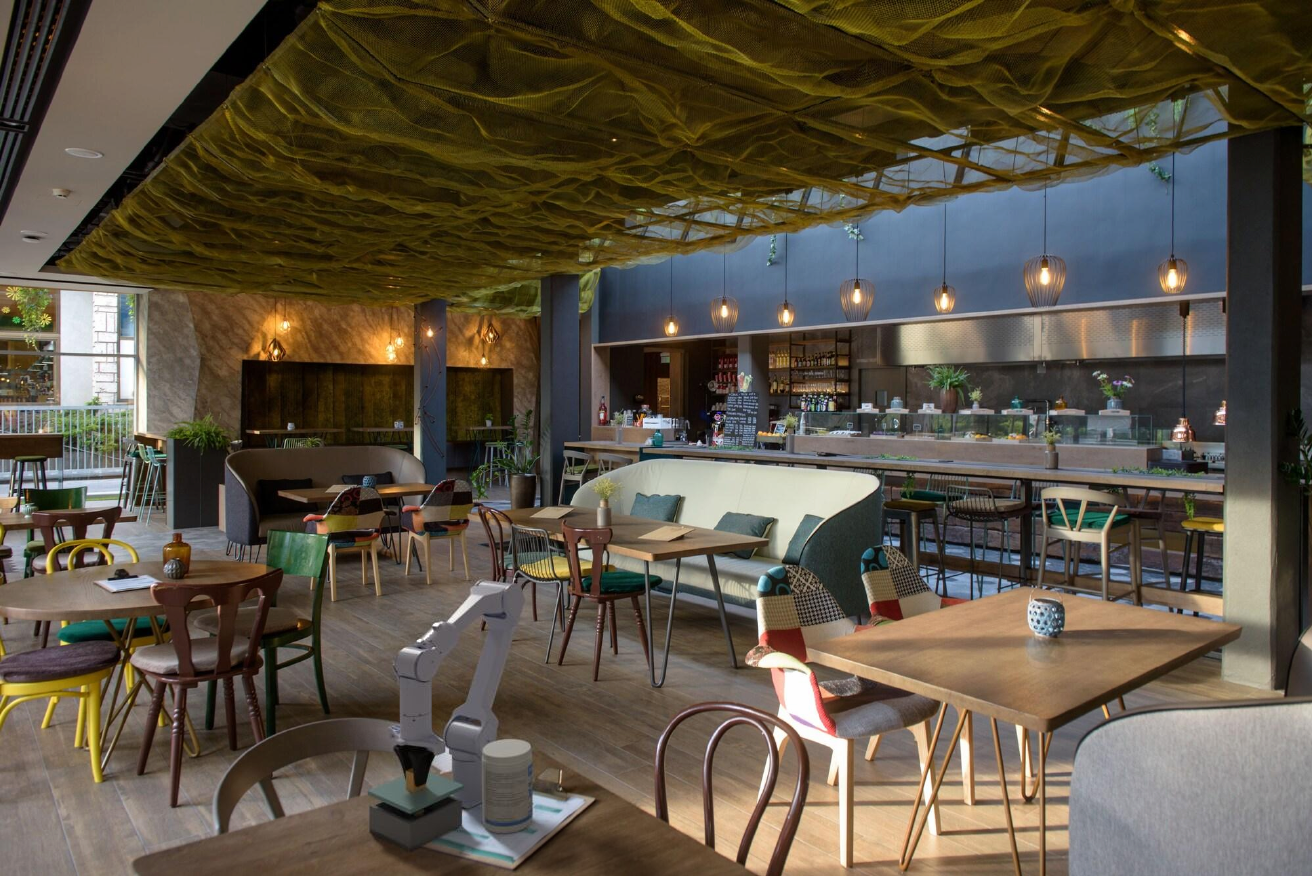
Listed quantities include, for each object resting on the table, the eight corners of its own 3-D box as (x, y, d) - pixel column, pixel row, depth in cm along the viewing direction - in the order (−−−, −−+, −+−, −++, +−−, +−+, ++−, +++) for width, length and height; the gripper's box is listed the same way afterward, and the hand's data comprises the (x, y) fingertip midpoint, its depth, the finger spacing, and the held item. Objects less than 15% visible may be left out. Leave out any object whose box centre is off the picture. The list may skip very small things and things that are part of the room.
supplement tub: (540, 827, 164) (541, 750, 163) (494, 840, 159) (494, 762, 158) (519, 807, 172) (519, 734, 171) (474, 819, 167) (474, 744, 166)
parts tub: (421, 808, 171) (421, 783, 171) (462, 826, 164) (462, 800, 164) (369, 831, 161) (369, 805, 161) (410, 851, 154) (410, 824, 154)
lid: (421, 776, 171) (421, 751, 171) (463, 793, 164) (463, 767, 164) (367, 799, 161) (367, 772, 161) (410, 818, 154) (409, 790, 154)
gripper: (373, 709, 163) (374, 780, 163) (423, 726, 154) (423, 801, 155) (404, 699, 169) (405, 767, 169) (454, 715, 160) (454, 787, 161)
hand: (416, 782), depth 162 cm, fingers closed on lid, 2 cm apart
